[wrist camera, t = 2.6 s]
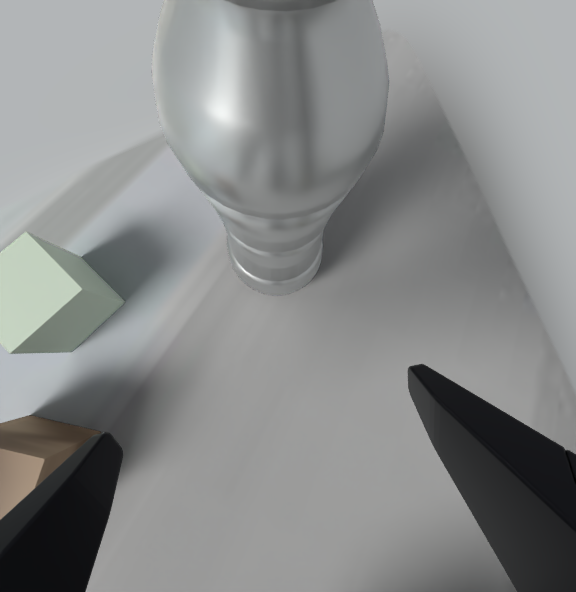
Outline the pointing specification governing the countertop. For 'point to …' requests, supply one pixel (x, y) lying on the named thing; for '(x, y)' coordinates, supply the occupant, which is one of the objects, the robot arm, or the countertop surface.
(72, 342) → the sage block
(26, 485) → the walnut block
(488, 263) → the countertop surface
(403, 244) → the countertop surface
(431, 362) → the countertop surface
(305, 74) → the plastic bottle
